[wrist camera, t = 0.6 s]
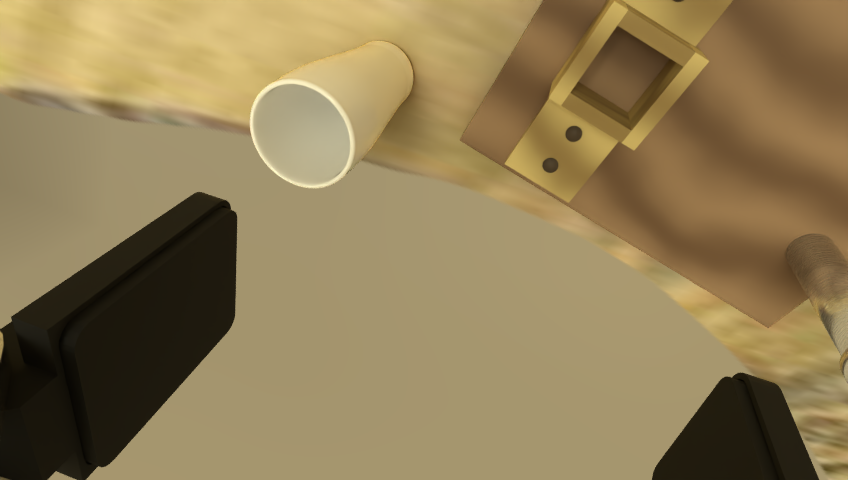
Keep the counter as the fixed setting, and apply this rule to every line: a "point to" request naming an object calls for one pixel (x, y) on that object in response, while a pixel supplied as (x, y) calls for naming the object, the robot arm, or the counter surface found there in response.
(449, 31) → the counter surface
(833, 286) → the hinge pin
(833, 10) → the hinge board
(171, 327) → the robot arm
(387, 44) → the drinking glass
